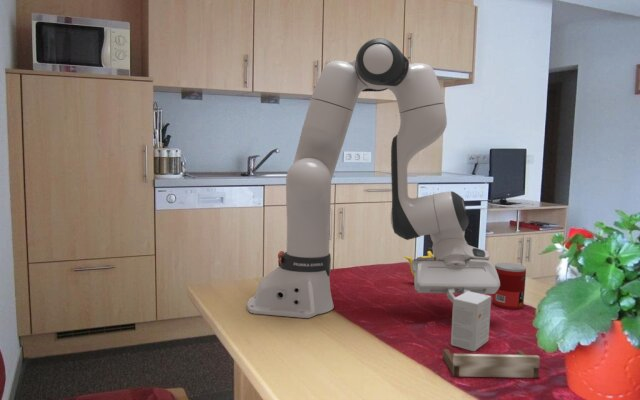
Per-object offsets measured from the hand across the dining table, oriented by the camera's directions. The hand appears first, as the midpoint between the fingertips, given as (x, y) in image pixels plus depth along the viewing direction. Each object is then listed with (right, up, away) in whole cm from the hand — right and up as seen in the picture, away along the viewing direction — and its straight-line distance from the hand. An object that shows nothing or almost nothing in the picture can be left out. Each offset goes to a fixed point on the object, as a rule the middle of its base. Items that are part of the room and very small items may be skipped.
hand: (461, 308), depth 122 cm
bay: (0, -7, -20) cm, 22 cm away
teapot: (+2, -1, +39) cm, 39 cm away
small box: (0, -6, -8) cm, 10 cm away
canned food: (+18, -4, +20) cm, 28 cm away
